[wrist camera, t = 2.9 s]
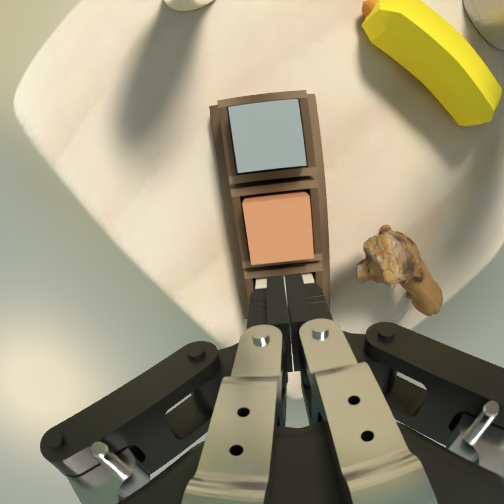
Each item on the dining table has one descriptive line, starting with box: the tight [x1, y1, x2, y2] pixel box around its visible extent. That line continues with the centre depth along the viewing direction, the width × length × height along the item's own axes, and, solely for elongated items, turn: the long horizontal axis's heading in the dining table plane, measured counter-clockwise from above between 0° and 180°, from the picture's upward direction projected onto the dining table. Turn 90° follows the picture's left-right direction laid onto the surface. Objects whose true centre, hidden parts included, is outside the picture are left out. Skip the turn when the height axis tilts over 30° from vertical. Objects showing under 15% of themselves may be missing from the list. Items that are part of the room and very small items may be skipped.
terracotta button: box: [242, 190, 314, 265], centre depth 21 cm, size 5×5×3 cm
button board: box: [209, 90, 330, 319], centre depth 24 cm, size 9×21×4 cm, turn 8°
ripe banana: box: [361, 0, 502, 127], centre depth 16 cm, size 18×7×8 cm
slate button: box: [228, 99, 307, 173], centre depth 19 cm, size 5×5×3 cm
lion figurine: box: [356, 225, 443, 316], centre depth 23 cm, size 15×5×9 cm, turn 59°
